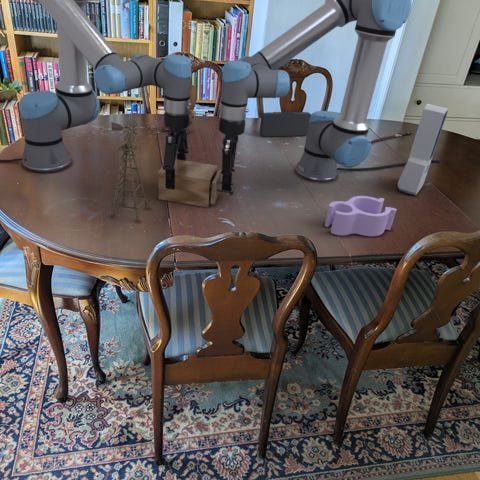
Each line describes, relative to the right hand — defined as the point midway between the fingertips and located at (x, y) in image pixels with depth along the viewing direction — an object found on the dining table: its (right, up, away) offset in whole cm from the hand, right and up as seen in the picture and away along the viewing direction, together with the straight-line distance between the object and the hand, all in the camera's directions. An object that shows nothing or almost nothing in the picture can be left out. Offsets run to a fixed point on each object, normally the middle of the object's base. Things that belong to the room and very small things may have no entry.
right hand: (226, 191), depth 147 cm
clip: (+40, -11, -4) cm, 42 cm away
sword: (+74, +31, +67) cm, 105 cm away
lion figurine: (-21, +31, +51) cm, 63 cm away
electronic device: (+66, +4, +24) cm, 71 cm away
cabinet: (-12, -1, +3) cm, 13 cm away
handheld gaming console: (+24, +31, +58) cm, 70 cm away
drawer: (-7, -1, +2) cm, 8 cm away
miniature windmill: (-28, -7, -9) cm, 30 cm away
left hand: (-16, +4, +1) cm, 16 cm away
